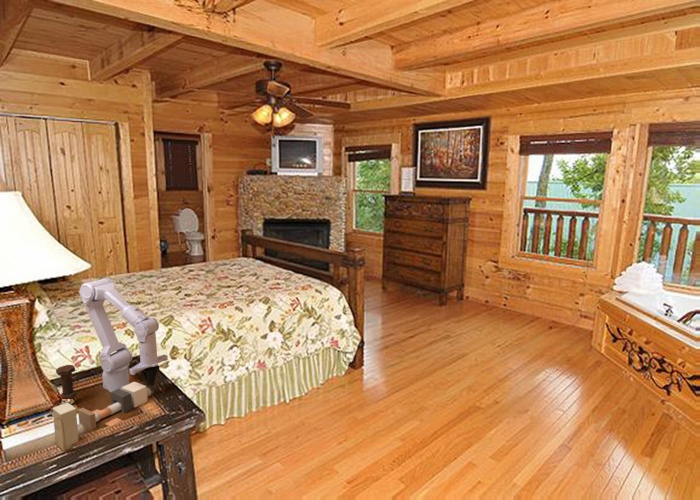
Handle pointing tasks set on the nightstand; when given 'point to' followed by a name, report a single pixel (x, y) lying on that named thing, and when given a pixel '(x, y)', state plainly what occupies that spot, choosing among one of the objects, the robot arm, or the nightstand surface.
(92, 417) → the pipe clamp
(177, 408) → the nightstand surface
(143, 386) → the sleeve
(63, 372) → the bolt
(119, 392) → the dark grey block
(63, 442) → the skincare box
